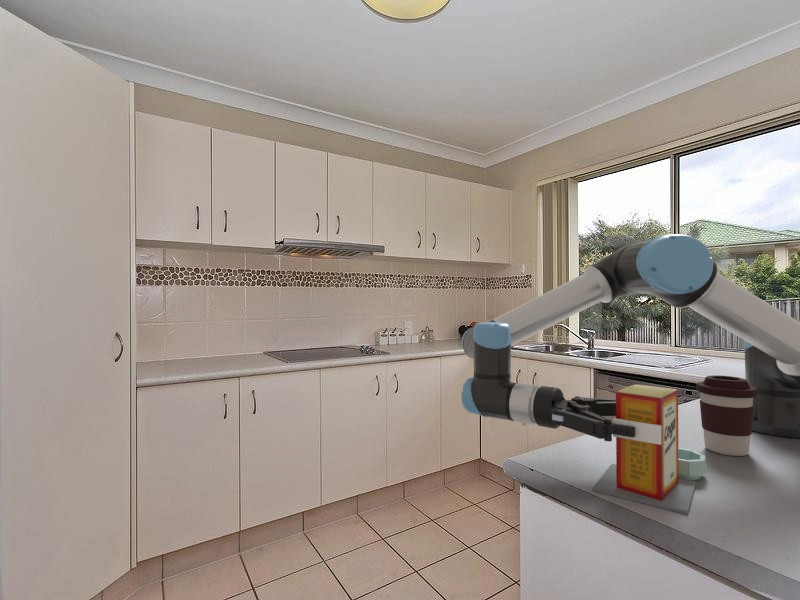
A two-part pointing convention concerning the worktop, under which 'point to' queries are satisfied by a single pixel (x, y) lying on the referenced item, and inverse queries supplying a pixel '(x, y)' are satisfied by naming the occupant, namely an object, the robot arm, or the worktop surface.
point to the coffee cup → (727, 414)
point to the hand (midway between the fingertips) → (667, 424)
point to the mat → (673, 501)
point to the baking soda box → (641, 461)
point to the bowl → (691, 464)
